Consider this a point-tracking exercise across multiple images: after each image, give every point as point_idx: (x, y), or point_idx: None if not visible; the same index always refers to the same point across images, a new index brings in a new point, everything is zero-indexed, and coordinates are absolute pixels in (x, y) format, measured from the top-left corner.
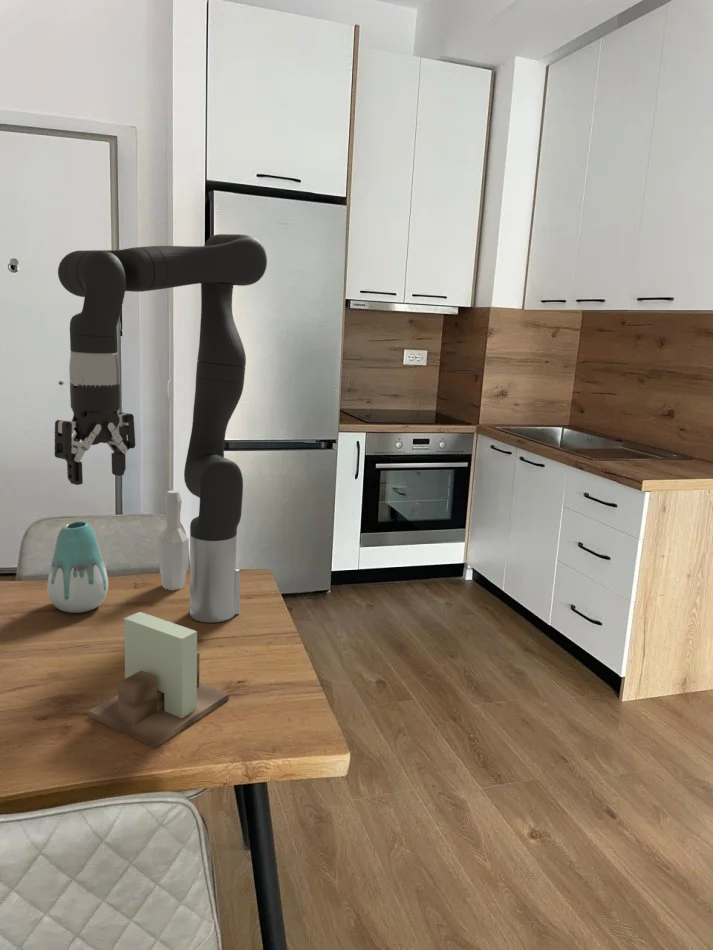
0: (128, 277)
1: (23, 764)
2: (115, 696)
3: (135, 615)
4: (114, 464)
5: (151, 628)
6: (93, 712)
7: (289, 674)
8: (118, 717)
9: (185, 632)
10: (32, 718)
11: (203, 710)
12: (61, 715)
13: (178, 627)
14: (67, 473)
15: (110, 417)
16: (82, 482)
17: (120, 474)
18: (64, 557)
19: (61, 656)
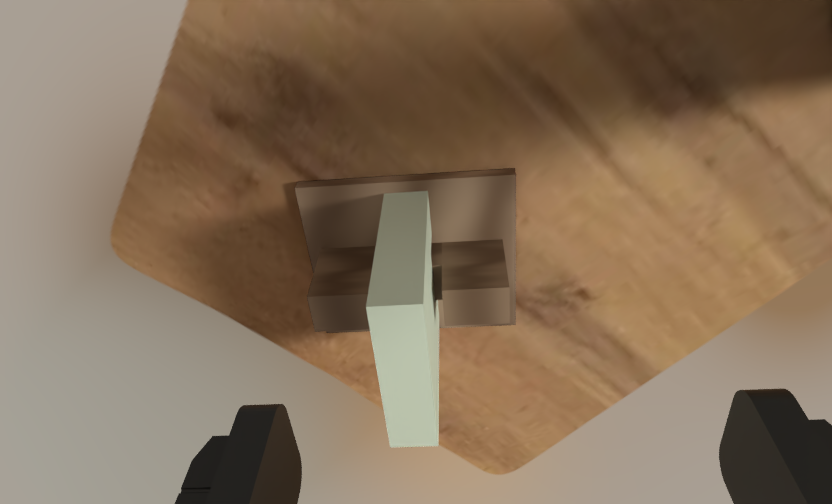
0: None
1: (143, 217)
2: (364, 185)
3: (399, 312)
4: (776, 498)
5: (379, 379)
6: (298, 200)
7: (660, 338)
8: (323, 244)
9: (416, 435)
10: (208, 103)
11: (443, 327)
12: (259, 138)
13: (424, 414)
14: (177, 497)
15: None
16: (298, 487)
17: (722, 469)
18: None
19: None
